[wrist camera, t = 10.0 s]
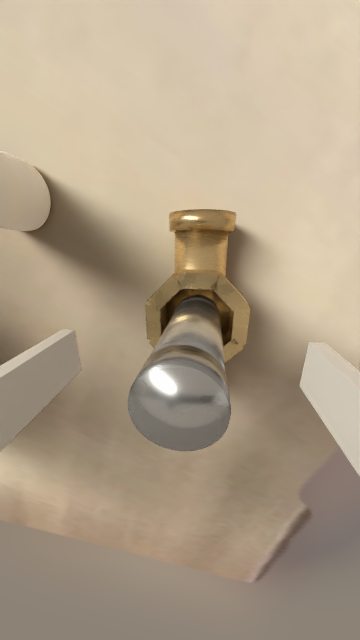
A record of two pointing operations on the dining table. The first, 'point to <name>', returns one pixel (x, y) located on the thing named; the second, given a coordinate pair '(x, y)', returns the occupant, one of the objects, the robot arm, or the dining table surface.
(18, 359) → the robot arm
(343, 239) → the dining table surface
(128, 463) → the dining table surface
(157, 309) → the tee fitting
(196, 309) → the metal cylinder
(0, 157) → the water bottle
